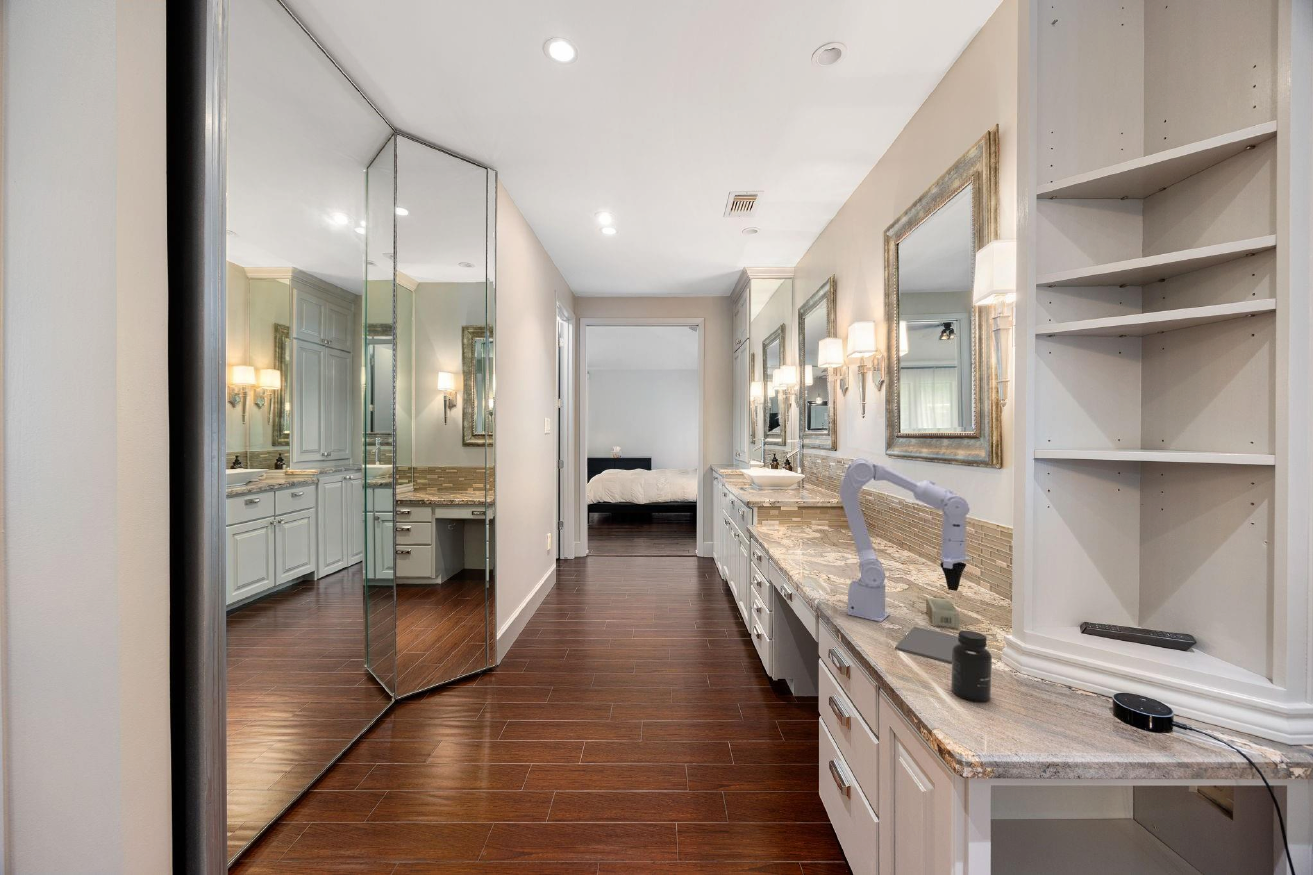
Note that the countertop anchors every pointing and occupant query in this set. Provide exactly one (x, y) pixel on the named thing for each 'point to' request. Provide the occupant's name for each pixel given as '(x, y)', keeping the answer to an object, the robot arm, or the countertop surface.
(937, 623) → the skincare box
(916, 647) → the mat
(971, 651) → the supplement bottle
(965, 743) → the countertop surface
